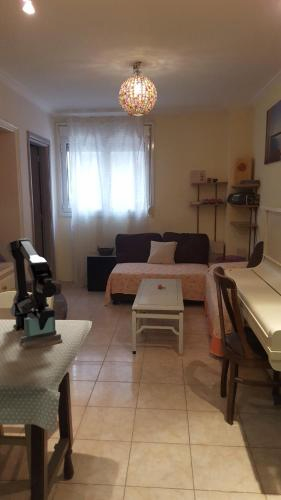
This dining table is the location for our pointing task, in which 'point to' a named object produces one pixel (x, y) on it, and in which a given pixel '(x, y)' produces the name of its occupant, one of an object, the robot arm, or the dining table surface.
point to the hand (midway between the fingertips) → (40, 328)
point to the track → (40, 340)
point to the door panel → (34, 328)
